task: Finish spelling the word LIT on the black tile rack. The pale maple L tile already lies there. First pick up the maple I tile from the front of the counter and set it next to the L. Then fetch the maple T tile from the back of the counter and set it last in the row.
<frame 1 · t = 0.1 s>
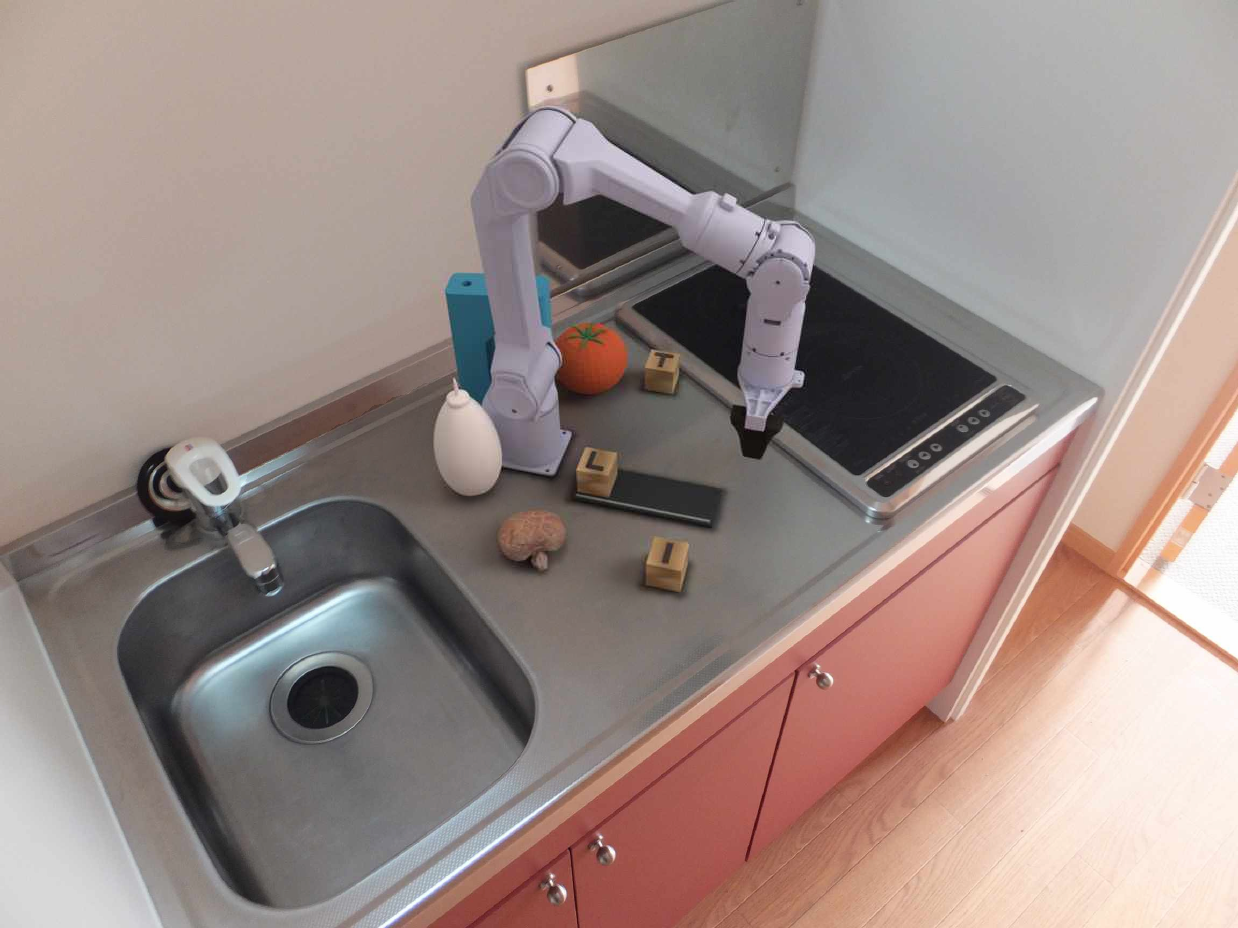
hand: (757, 432, 100), 10 cm above the counter, tool pointing down, fingers open, 7 cm apart
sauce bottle: (475, 488, 109), on the counter
tomato: (592, 386, 122), on the counter
block: (511, 417, 118), on the counter, touching arm
black tile rack: (646, 496, 107), on the counter
tile L: (597, 483, 108), point 1 cm above the counter, touching black tile rack
tile T: (661, 382, 122), on the counter
tile I: (666, 574, 99), on the counter
mushroom: (533, 547, 102), on the counter
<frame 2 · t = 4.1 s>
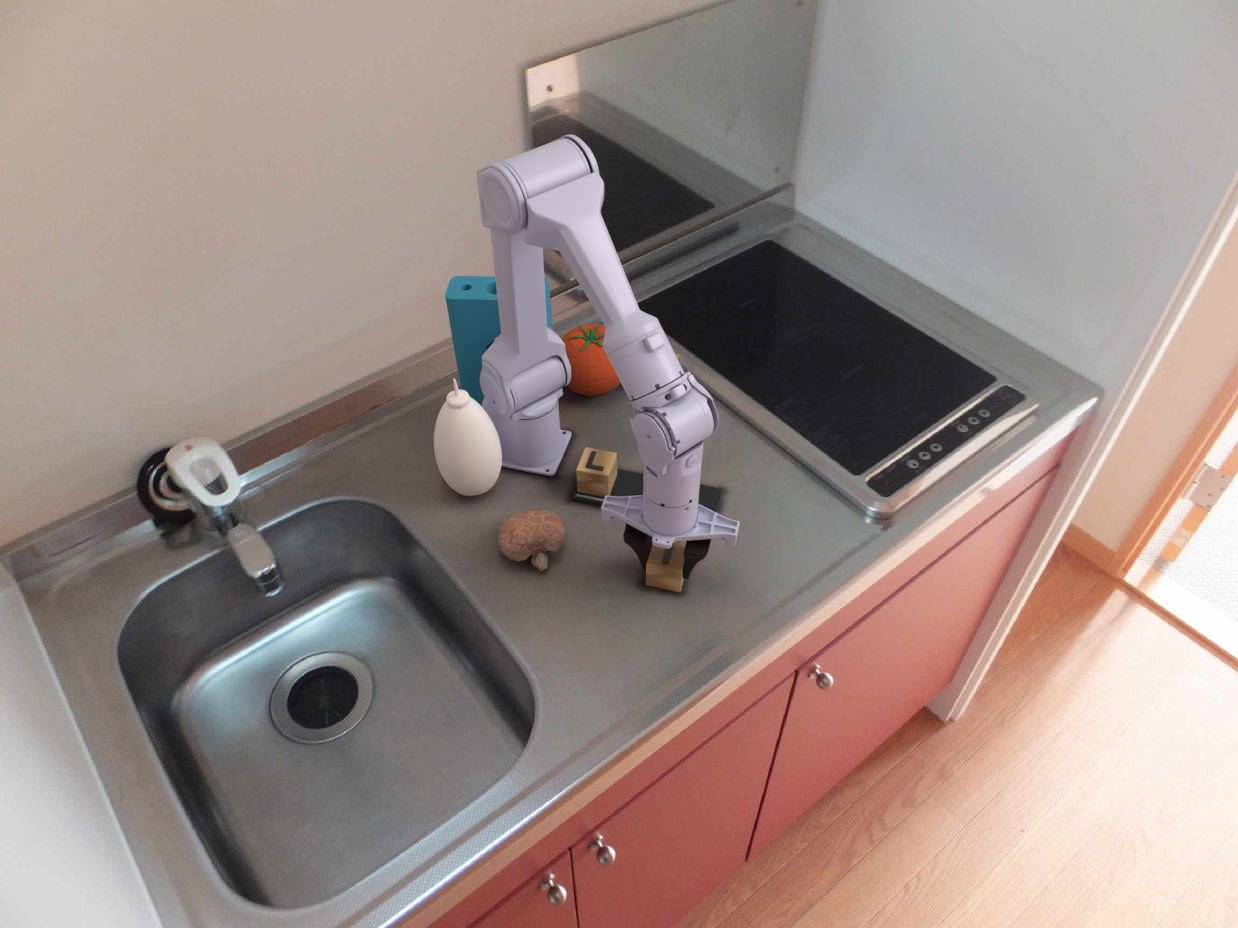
hand: (666, 567, 98), 1 cm above the counter, tool pointing down, fingers closed on tile I, 4 cm apart
tile I: (666, 574, 99), on the counter, touching gripper
everything else where it was.
when the fingers open (2 cm above the counter, at t = 7.8 s): tile I stays where it is, resting on black tile rack.
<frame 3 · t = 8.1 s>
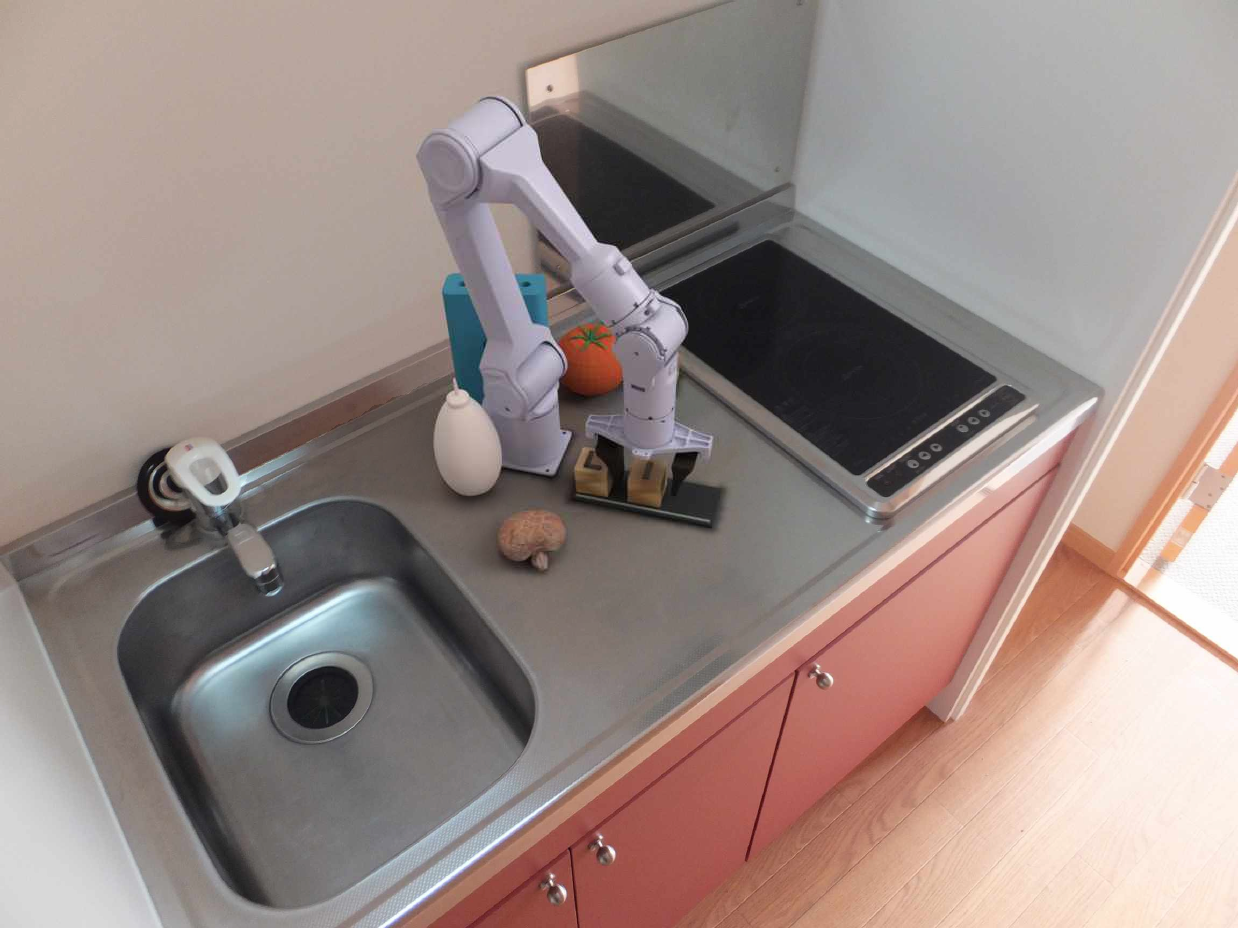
hand: (647, 485, 106), 2 cm above the counter, tool pointing down, fingers open, 6 cm apart
tile L: (596, 482, 108), point 1 cm above the counter, touching gripper
tile I: (647, 492, 107), point 1 cm above the counter, touching black tile rack
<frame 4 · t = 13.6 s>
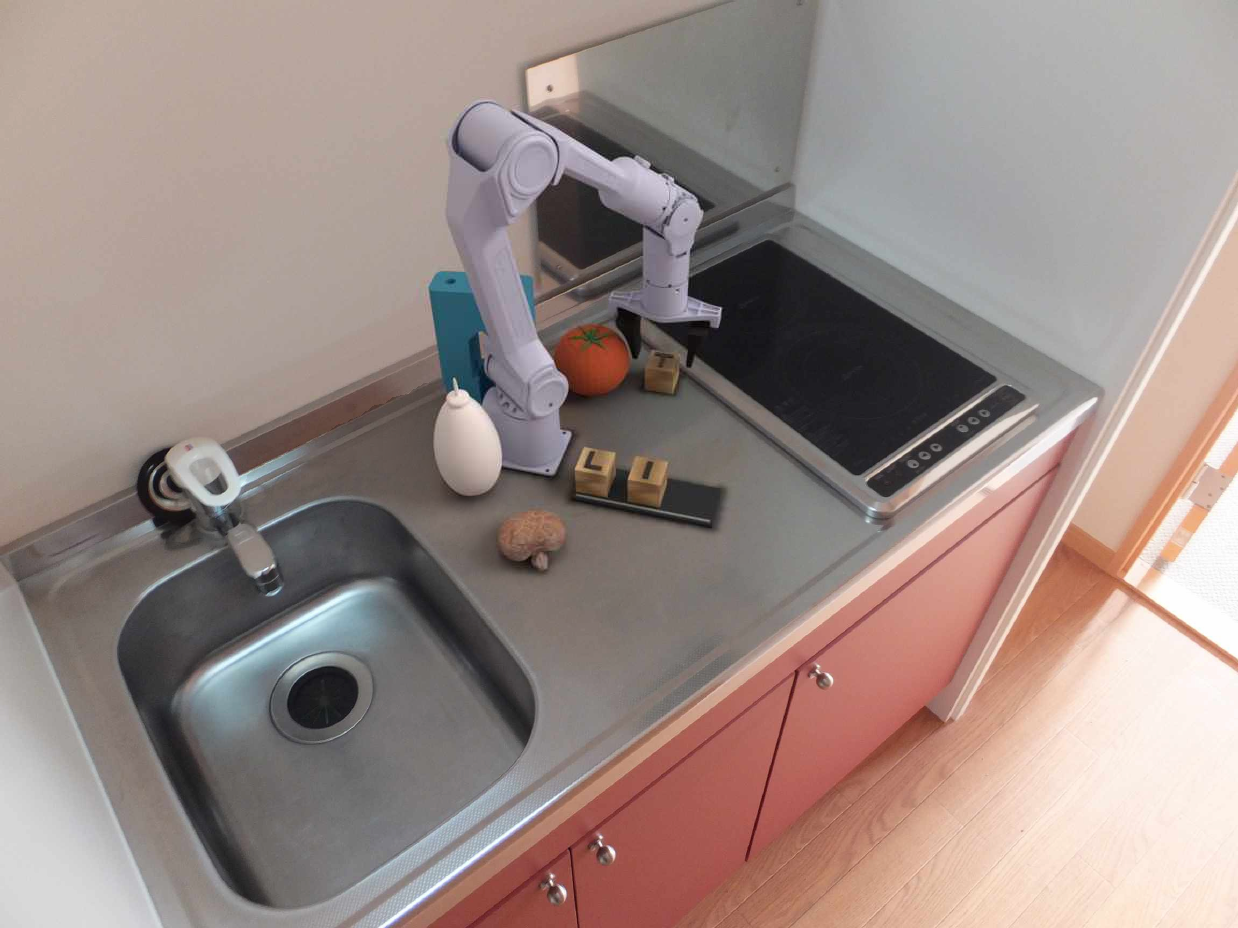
hand: (663, 358, 119), 4 cm above the counter, tool pointing down, fingers open, 7 cm apart
tomato: (592, 387, 122), on the counter, touching gripper
block: (495, 417, 118), on the counter, touching arm
tile L: (595, 483, 108), point 1 cm above the counter, touching black tile rack
everything else where it was.
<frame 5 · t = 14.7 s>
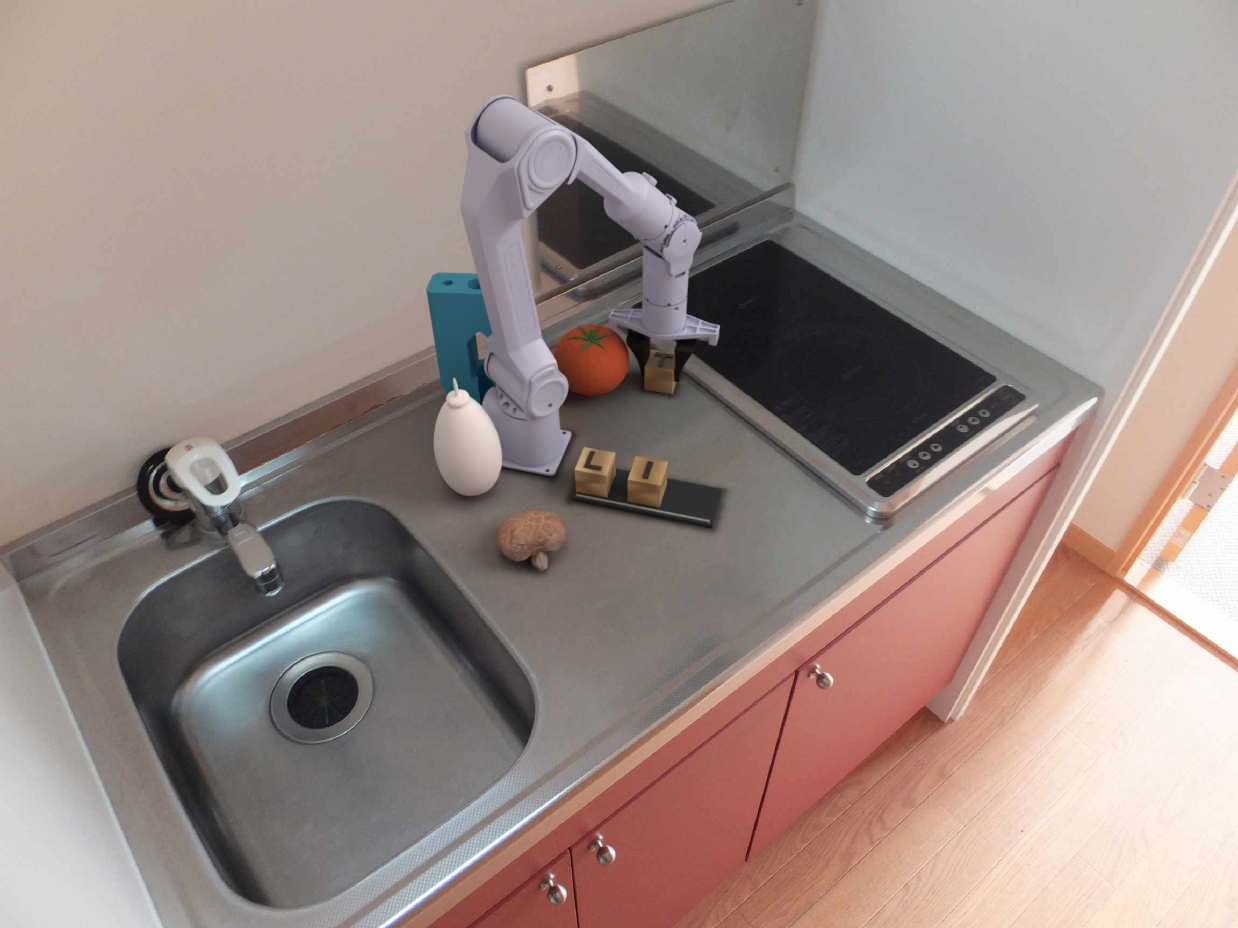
hand: (662, 374, 121), 1 cm above the counter, tool pointing down, fingers closed on tile T, 4 cm apart
tomato: (592, 387, 122), on the counter
tile T: (661, 382, 122), on the counter, touching gripper
everything else where it was.
when the fingers open (2 cm above the counter, at t = 19.2 s): tile T stays where it is, resting on black tile rack.
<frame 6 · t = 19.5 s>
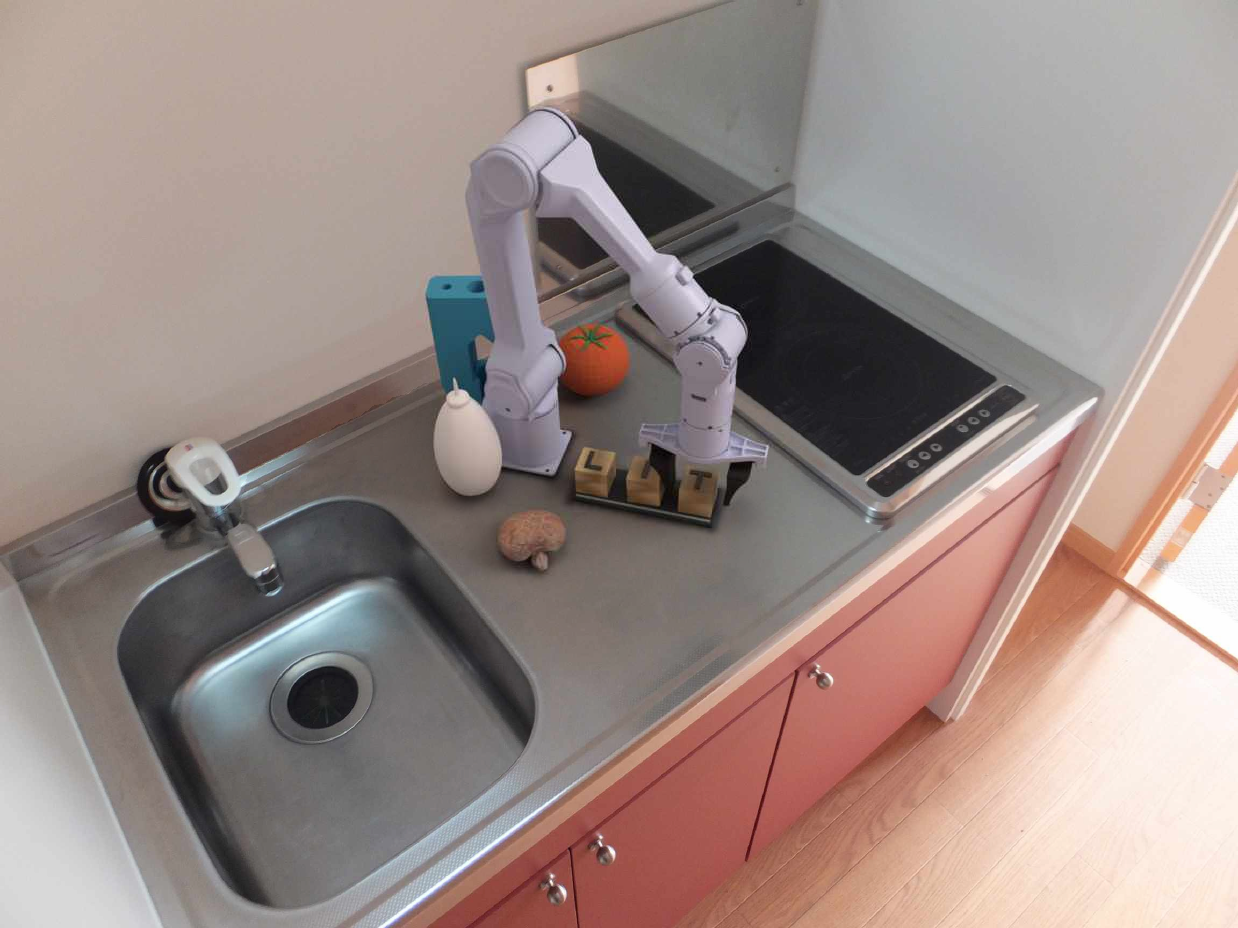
hand: (698, 494, 105), 2 cm above the counter, tool pointing down, fingers open, 6 cm apart
tile T: (697, 502, 106), point 1 cm above the counter, touching black tile rack
tile I: (647, 492, 107), point 1 cm above the counter, touching gripper, black tile rack
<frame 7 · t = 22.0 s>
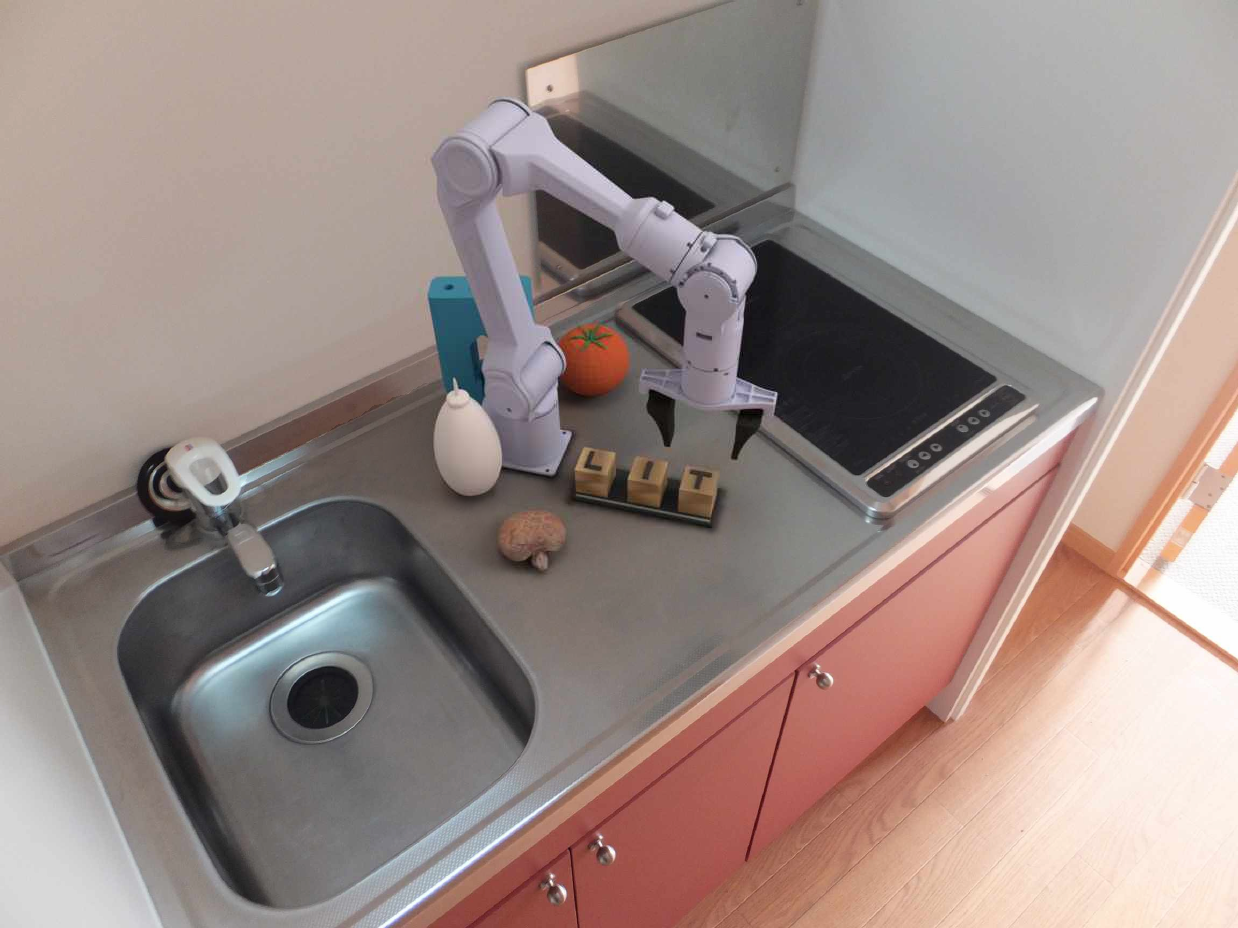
hand: (701, 447, 99), 10 cm above the counter, tool pointing down, fingers open, 7 cm apart
tile I: (647, 492, 107), point 1 cm above the counter, touching black tile rack
everything else where it was.
at the end: tile I 0.0 cm off-centre on the black tile rack, point 0.6 cm above the black tile rack's base; tile T 0.0 cm from the target spot on the black tile rack, point 0.6 cm above the black tile rack's base; tile L moved 0.2 cm from its start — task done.
